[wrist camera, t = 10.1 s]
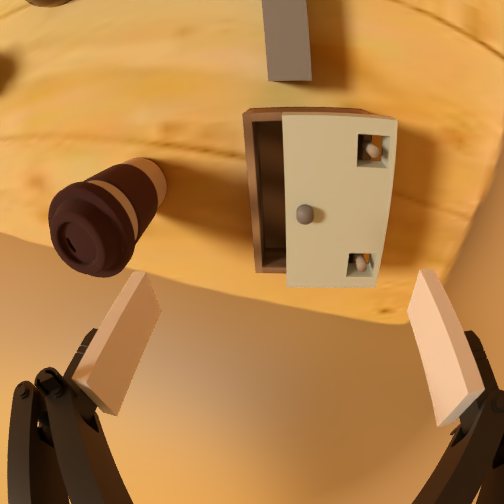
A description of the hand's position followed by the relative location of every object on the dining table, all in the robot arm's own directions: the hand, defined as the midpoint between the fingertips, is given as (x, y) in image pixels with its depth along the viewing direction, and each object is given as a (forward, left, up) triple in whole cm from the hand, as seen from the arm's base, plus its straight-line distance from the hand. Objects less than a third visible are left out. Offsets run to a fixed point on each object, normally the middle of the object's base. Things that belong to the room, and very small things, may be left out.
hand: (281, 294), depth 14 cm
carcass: (+3, +2, -22) cm, 23 cm away
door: (+3, +5, -17) cm, 18 cm away
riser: (-17, 0, -22) cm, 28 cm away
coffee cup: (+2, -19, -23) cm, 29 cm away
